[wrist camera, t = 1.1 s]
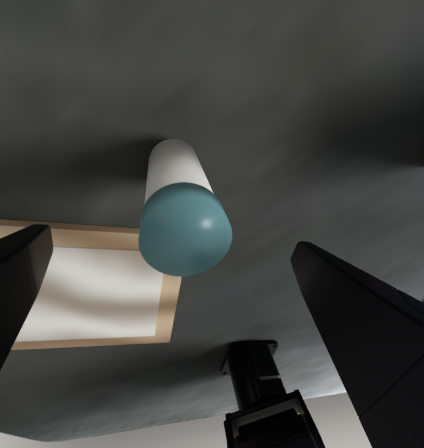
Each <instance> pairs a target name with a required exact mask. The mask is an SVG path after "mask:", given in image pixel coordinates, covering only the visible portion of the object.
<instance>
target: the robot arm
mask: <svg viewBox="0 0 424 448" xmlns="http://www.w3.org/2000/svg"><path fill="white" fill-rule="evenodd" d="M52 253H53V240H52V233H51V228H50V226H49V225H46V224H32V225H30V226H28V227H25V228H23V229H21V230H19V231H16V232H14V233H12V234H9V235H7V236H5V237H2V238H0V370H1V368H2V366H3V364H4V362H5V360H6V358H7V356H8V354H9V352H10V350H11V348H12V346H13V344H14V342H15V340H16V338H17V336H18V334H19V332H20V330H21V328H22V326H23V324H24V322H25V320H26V318H27V316H28V314H29V312H30V310H31V308H32V306H33V304H34V302H35V300H36V298H37V296H38V293H39V291H40V288H41V285H42V282H43V280H44V277H45V274H46V271H47V268H48V265H49V262H50V259H51V256H52ZM291 264H292V267H293V270H294V273H295V276H296V279H297V281H298V284H299V287H300V290H301V293H302V295H303V298H304V300H305V302H306V304H307V307H308V309H309V311H310V313H311V315H312V317H313V320H314V322H315V324H316V326H317V328H318V330H319V333H320V335H321V337H322V339H323V341H324V343H325V346H326V348H327V350H328V352H329V354H330V356H331V359H332V361H333V363H334V365H335V367H336V369H337V372H338V374H339V376H340V378H341V380H342V382H343V385H344V387H345V389H346V391H347V393H348V395H349V398H350V400H351V402H352V404H353V406H354V408H355V410H356V412H357V415H358V416H359V420H360V422H361V424H362V426H363V428H364V431H365V433H366V435H367V437H368V439H369V441H370V443H371V446H372V448H424V303H423V302H421V301H419V300H417V299H415V298H413V297H411V296H409V295H408V294H406V293H404V292H402V291H400V290H397V289H396V288H394V287H393V286H391V285H389V284H387V283H385V282H383V281H381V280H379V279H378V278H376V277H374V276H372V275H370V274H368V273H366V272H365V271H363V270H361V269H359V268H357V267H355V266H353V265H351V264H350V263H348V262H346V261H344V260H342V259H340V258H338V257H336V256H335V255H333V254H331V253H329V252H327V251H325V250H323V249H322V248H320V247H318V246H316V245H314V244H312V243H310V242H305V241H300V242H298V243H297V245H296V247H295V250H294V252H293V254H292V256H291ZM277 347H278V343H277V341H263V342H245V343H233V344H231V345H230V347H229V350H228V352H227V355H226V358H225V360H224V363H223V365H222V368H221V375H231V379H232V383H233V387H234V391H235V396H236V400H237V404H238V408H239V411H236V412H233V413H231V414H230V413H228V414H225V415H226V420H225V421H224V427H225V433H226V439H227V448H325V446H324V443H323V441H322V439H321V436H320V434H319V432H318V429H317V427H316V425H315V423H314V421H313V419H312V417H311V415H310V413H309V411H308V409H307V406H306V405H305V403H304V400H303V398H302V396H301V394H300V392H299V390H298V389H297V390H294V392H291V393H288V394H287V393H286V390H285V388H284V385H283V383H282V380H281V378H280V374H279V371H278V369H277V366H276V364H275V361H274V359H273V355H274V353H275V351H276V349H277ZM297 413H300V414H297Z"/></svg>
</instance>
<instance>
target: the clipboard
mask: <svg viewBox="0 0 424 448" xmlns="http://www.w3.org/2000/svg"><path fill="white" fill-rule="evenodd" d="M32 224H46V225H49V226H50V228H51V233H52V240H53V253H52V256H51V259H50V262H49V265H48V268H47V271H46V274H45V277H44V280H43V282H42V285H41V288H40V291H39V293H38V296H37V298H36V300H35V302H34V304H33V306H32V308H31V310H30V312H29V314H28V316H27V318H26V320H25V322H24V324H23V326H22V328H21V330H20V332H19V334H18V336H17V338H16V340H15V342H14V344H13V346H12V348H11V350H22V349H42V348H62V347H83V346H103V345H123V344H143V343H163V342H170V337H171V331H172V326H173V321H174V315H175V310H176V304H177V299H178V294H179V288H180V283H181V278H182V277H179V276H171V275H167V274H164V273H161V272H159V271H157V270H155V269H154V268H152V267H151V266H150V265H149V264H148V263H147V262H146V261H145V260H144V258H143V257H142V255H141V253H140V250H139V245H138V237H139V228H127V227H112V226H97V225H83V224H68V223H53V222H38V221H23V220H8V219H0V238H2V237H5V236H7V235H9V234H12V233H14V232H16V231H19V230H21V229H23V228H25V227H28V226H30V225H32Z"/></svg>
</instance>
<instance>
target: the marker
mask: <svg viewBox="0 0 424 448" xmlns="http://www.w3.org/2000/svg"><path fill="white" fill-rule="evenodd" d="M231 242H232V229H231V225H230V223H229V221H228V218H227V216H226V214H225V212H224V210H223V208H222V206H221V203H220V201H219V200H218V198H217V197H216V196H215V195H214V194H213V192H212V189H211V187H210V185H209V183H208V180H207V178H206V176H205V174H204V171H203V169H202V167H201V165H200V162H199V160H198V158H197V156H196V153H195V151H194V150H193V149H192V147H191V146H190V145H189V144H187V143H186V142H184V141H181V140H178V139H168V140H164V141H162V142H160V143H158V144H157V145H156V146H155V147H154V148H153V150H152V151H151V153H150V156H149V163H148V174H147V184H146V195H145V205H144V207H143V209H142V212H141V219H140V228H139V237H138V245H139V250H140V253H141V255H142V257H143V258H144V260H145V261H146V262H147V263H148V264H149V265H150V266H151V267H152V268H154V269H155V270H157V271H159V272H161V273H164V274H167V275H171V276H179V277H184V276H193V275H197V274H200V273H203V272H205V271H208V270H209V269H211V268H213V267H214V266H216V265H217V264H218V263H219V262H220V261H221V260H222V259H223V258H224V257H225V255H226V254H227V252H228V250H229V248H230V245H231Z"/></svg>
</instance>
